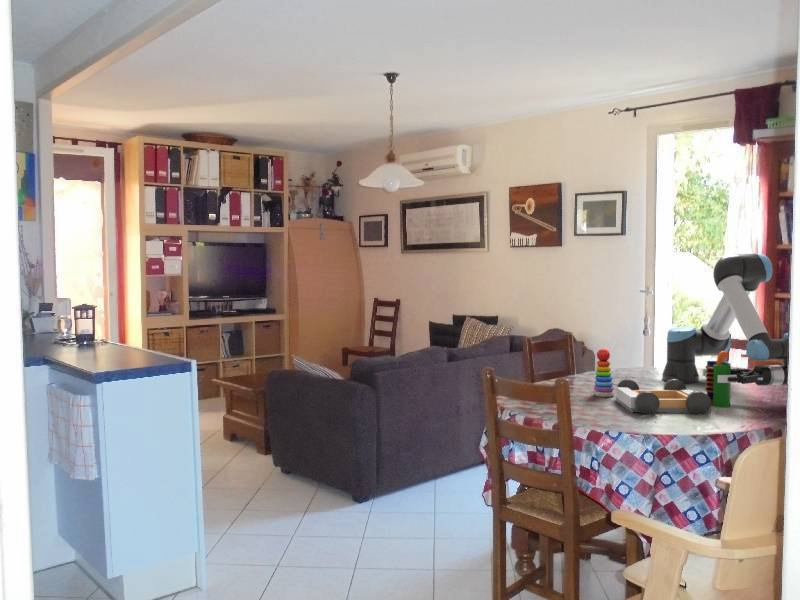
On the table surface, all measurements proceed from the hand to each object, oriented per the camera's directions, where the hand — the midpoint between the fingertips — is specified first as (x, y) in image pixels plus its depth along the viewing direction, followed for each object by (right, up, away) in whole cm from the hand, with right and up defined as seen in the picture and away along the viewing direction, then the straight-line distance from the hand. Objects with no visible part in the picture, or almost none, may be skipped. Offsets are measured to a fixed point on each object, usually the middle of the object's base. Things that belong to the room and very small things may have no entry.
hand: (710, 375), depth 267 cm
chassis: (-19, -11, -3) cm, 22 cm away
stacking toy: (-35, -10, +18) cm, 40 cm away
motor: (+3, -11, +1) cm, 12 cm away
